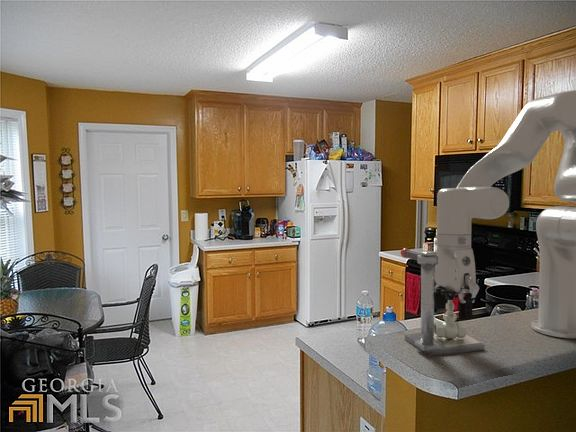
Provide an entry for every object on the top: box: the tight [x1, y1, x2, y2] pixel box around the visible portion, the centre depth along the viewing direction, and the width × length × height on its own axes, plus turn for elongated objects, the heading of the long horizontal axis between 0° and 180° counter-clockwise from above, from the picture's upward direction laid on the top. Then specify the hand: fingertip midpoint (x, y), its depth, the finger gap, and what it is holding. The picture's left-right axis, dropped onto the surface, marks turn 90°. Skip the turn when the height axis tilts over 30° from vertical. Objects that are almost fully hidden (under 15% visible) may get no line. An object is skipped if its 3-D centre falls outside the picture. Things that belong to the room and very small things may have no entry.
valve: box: [434, 286, 467, 339], centre depth 104 cm, size 7×7×12 cm
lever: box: [400, 248, 438, 266], centre depth 103 cm, size 13×4×2 cm, turn 14°
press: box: [404, 250, 485, 357], centre depth 104 cm, size 15×11×23 cm
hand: (452, 313), depth 104 cm, fingers open, 9 cm apart
